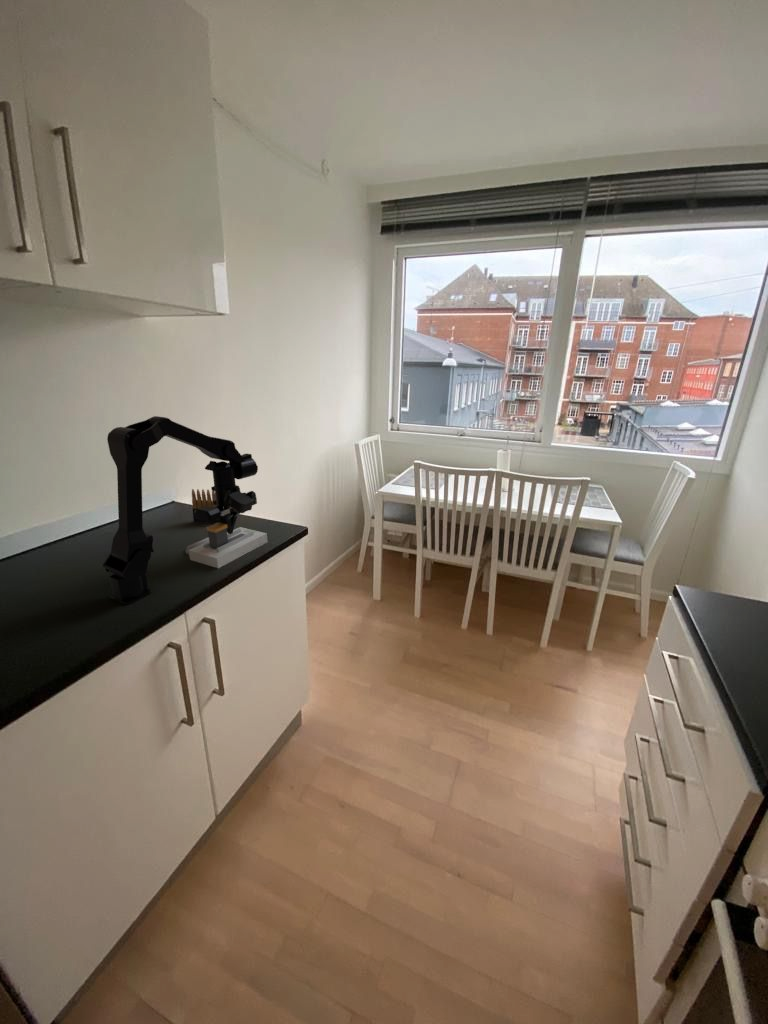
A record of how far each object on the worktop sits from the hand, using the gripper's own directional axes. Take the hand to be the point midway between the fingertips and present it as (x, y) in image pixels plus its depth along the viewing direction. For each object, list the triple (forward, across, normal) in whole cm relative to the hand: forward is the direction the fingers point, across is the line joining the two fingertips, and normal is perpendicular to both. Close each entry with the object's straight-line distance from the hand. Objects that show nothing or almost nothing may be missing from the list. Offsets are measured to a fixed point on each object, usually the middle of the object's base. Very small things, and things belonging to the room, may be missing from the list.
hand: (230, 533), depth 124 cm
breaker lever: (+2, -5, 0) cm, 5 cm away
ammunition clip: (+6, +13, +24) cm, 28 cm away
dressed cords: (+5, -1, +9) cm, 10 cm away
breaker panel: (+5, -1, 0) cm, 5 cm away
